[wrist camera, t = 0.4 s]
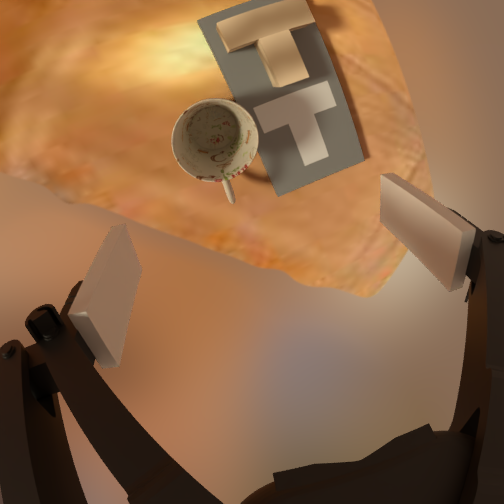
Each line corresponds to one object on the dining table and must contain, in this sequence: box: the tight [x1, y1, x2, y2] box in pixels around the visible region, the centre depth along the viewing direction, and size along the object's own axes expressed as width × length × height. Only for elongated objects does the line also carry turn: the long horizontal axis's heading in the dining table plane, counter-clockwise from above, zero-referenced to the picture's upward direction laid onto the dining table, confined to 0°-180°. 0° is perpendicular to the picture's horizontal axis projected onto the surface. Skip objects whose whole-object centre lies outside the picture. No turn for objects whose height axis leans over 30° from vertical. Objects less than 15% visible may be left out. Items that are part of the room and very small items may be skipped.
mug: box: [172, 98, 259, 204], centre depth 34 cm, size 8×13×10 cm, turn 16°
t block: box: [216, 0, 315, 87], centre depth 30 cm, size 10×10×4 cm
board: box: [197, 0, 365, 197], centre depth 35 cm, size 25×13×2 cm, turn 23°
